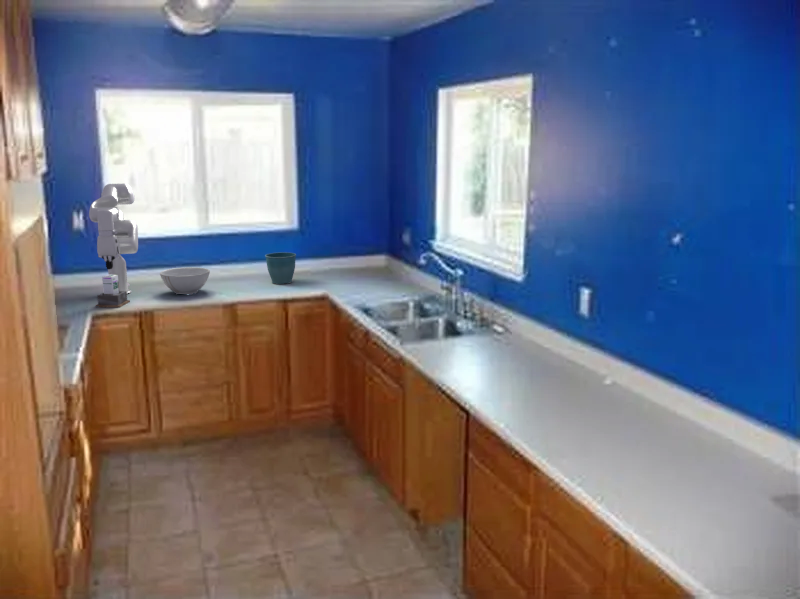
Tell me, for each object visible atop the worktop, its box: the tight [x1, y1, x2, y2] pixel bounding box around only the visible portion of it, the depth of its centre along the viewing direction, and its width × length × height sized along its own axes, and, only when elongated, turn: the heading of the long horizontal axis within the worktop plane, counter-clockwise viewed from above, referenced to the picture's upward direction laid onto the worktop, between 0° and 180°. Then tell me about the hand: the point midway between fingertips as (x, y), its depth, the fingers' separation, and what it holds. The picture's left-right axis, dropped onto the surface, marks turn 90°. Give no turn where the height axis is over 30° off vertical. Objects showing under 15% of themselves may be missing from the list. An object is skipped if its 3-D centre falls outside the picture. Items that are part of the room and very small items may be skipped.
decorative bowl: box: [159, 266, 211, 295], centre depth 404 cm, size 27×27×12 cm
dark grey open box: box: [95, 291, 131, 309], centre depth 377 cm, size 13×13×6 cm
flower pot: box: [264, 251, 297, 285], centre depth 432 cm, size 18×18×17 cm
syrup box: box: [101, 274, 120, 295], centre depth 376 cm, size 6×6×14 cm
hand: (109, 268), depth 373 cm, fingers closed
